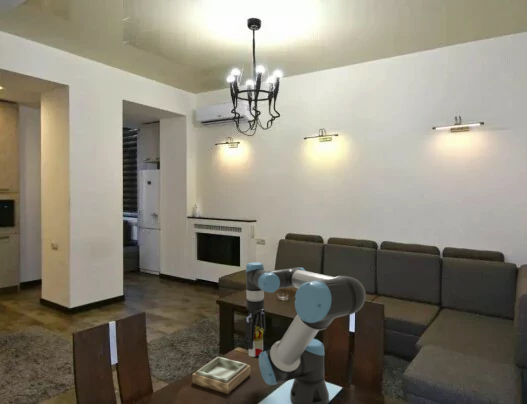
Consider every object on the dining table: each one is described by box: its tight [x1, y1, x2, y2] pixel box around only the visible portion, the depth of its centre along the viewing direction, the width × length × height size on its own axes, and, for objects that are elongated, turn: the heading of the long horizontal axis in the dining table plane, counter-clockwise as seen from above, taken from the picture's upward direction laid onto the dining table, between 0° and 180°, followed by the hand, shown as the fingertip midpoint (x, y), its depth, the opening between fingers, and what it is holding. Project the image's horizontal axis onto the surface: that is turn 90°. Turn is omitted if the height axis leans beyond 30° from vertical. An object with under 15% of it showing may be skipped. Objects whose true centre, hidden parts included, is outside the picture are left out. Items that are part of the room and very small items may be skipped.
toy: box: [252, 326, 264, 359], centre depth 154 cm, size 7×7×15 cm
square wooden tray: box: [192, 356, 251, 395], centre depth 157 cm, size 18×18×5 cm
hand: (256, 352), depth 154 cm, fingers closed on toy, 6 cm apart
